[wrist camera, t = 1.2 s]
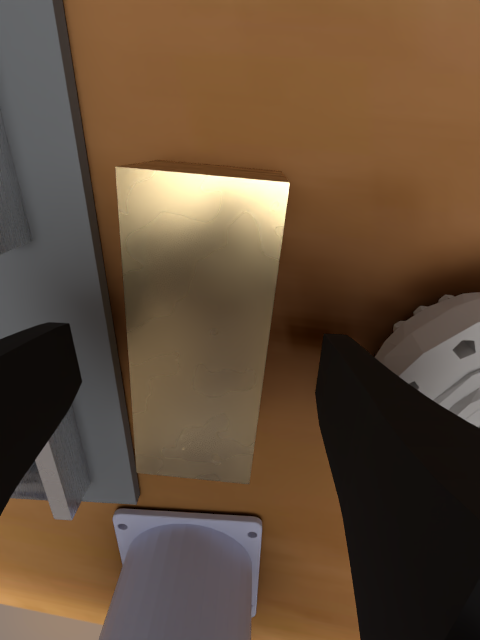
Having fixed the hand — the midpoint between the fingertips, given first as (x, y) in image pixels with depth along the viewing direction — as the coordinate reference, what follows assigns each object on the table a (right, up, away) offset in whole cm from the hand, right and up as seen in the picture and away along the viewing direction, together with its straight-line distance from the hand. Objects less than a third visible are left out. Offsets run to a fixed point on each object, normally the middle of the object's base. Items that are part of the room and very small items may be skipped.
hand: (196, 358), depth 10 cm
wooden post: (0, +2, +4) cm, 4 cm away
